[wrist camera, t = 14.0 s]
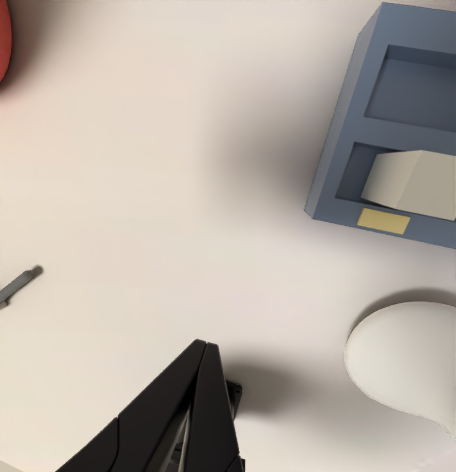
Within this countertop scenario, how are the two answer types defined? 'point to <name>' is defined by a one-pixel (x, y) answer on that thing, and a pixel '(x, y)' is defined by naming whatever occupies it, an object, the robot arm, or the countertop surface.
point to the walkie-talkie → (14, 286)
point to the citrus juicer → (4, 38)
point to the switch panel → (390, 119)
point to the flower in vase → (408, 360)
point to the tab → (414, 183)
